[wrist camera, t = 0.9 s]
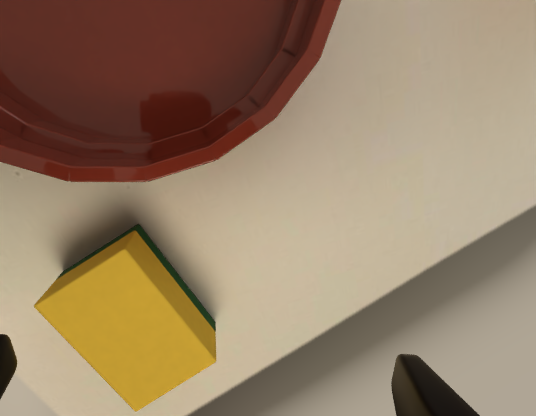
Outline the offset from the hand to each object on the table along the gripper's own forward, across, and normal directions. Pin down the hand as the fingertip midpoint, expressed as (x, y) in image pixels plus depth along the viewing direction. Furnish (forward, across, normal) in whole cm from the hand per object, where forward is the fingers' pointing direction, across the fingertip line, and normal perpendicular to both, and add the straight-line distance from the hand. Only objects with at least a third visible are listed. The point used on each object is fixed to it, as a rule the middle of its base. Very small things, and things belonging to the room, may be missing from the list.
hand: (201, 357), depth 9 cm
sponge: (+10, +5, +6) cm, 12 cm away
